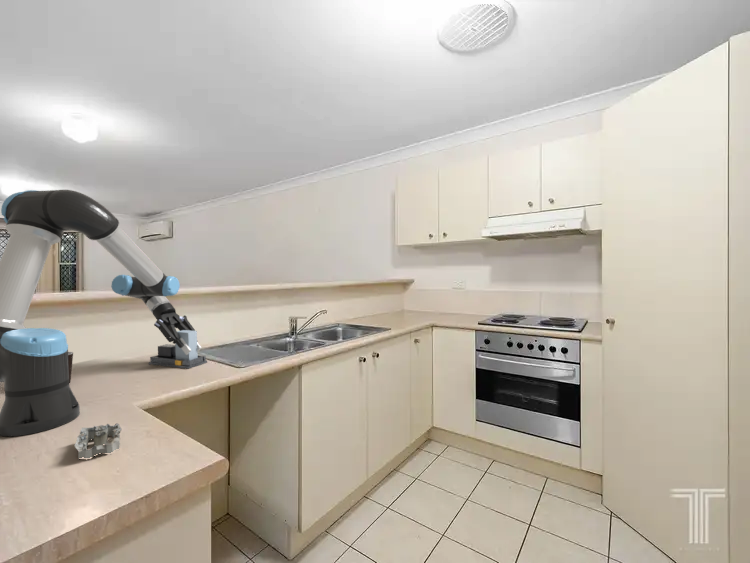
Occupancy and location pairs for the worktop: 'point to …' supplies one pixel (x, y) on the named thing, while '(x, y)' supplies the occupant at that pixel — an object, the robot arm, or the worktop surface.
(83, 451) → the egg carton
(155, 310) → the robot arm
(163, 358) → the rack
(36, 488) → the worktop surface
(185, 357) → the light blue upright block
